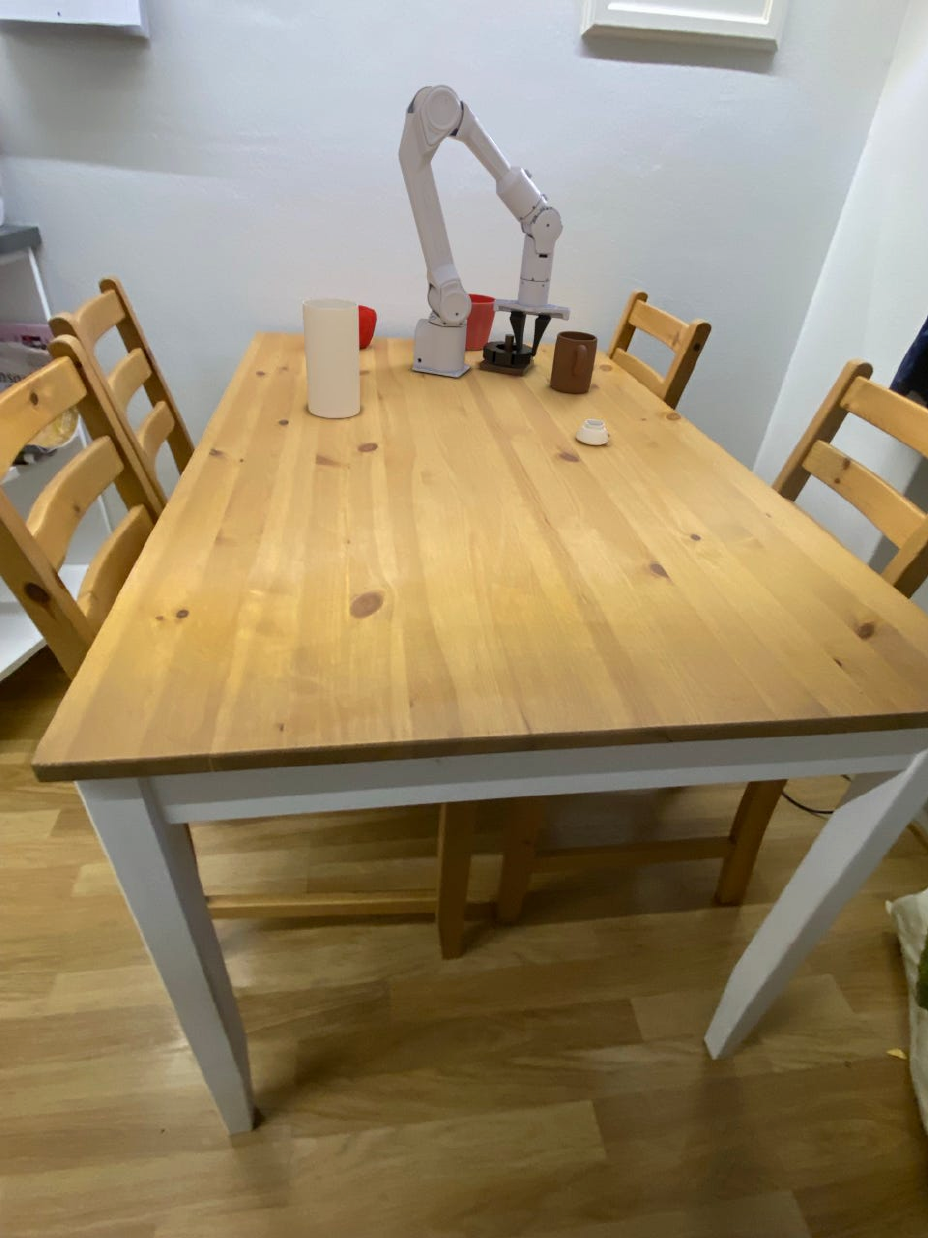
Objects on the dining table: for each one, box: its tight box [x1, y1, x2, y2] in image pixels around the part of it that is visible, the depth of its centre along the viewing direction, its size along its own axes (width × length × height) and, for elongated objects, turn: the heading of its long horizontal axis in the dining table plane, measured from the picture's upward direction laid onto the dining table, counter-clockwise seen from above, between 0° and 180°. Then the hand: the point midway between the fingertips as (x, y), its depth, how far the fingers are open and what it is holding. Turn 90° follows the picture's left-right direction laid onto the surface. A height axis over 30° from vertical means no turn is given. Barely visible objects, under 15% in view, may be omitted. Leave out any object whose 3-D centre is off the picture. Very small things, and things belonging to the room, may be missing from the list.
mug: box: [549, 330, 599, 394], centre depth 127 cm, size 12×8×9 cm, turn 0°
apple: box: [358, 304, 378, 349], centre depth 143 cm, size 9×9×8 cm
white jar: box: [575, 418, 610, 446], centre depth 108 cm, size 5×3×5 cm
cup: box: [302, 297, 361, 419], centre depth 108 cm, size 8×8×16 cm
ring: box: [482, 340, 534, 366], centre depth 139 cm, size 10×10×2 cm
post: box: [478, 333, 535, 377], centre depth 139 cm, size 9×9×6 cm
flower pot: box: [465, 293, 497, 351], centre depth 150 cm, size 11×11×10 cm
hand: (526, 354), depth 138 cm, fingers closed on ring, 2 cm apart
